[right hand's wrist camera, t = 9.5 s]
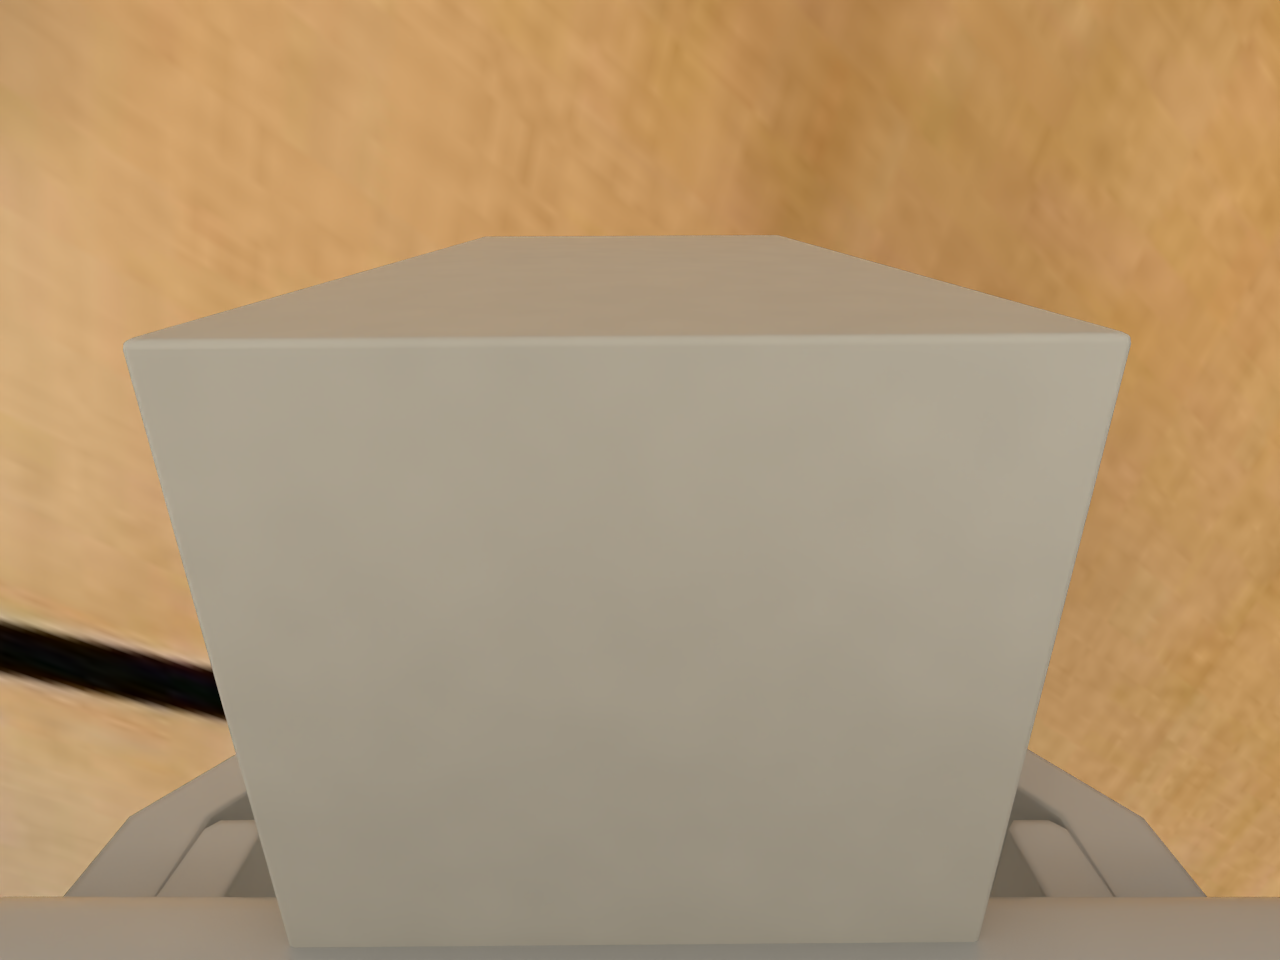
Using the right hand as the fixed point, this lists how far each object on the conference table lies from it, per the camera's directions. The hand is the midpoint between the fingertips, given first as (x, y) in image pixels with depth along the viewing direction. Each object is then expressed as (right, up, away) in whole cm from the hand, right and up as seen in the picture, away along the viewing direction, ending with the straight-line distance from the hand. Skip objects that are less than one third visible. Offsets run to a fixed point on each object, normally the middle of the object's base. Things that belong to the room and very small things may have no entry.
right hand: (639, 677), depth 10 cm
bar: (0, -20, +12) cm, 24 cm away
